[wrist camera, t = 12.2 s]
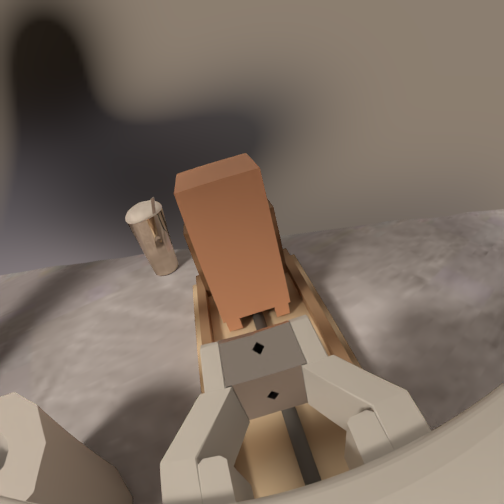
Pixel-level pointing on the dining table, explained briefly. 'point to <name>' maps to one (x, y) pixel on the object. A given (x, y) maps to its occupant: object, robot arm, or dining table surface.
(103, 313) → the dining table surface
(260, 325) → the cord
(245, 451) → the channel
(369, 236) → the dining table surface
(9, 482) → the toilet tissue
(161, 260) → the milkshake
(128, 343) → the dining table surface
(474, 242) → the dining table surface
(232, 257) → the panel
